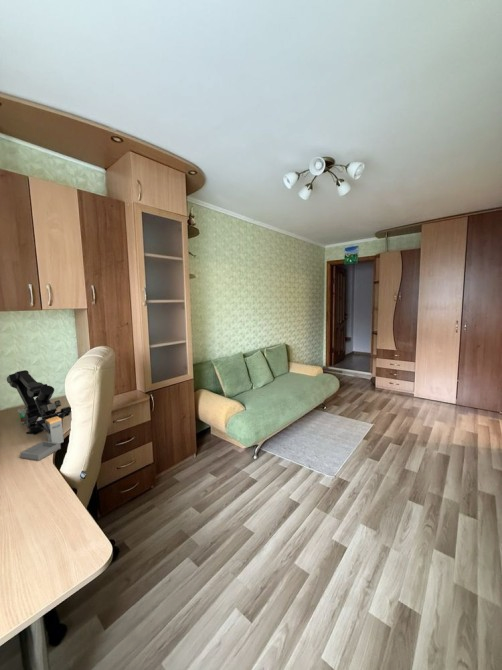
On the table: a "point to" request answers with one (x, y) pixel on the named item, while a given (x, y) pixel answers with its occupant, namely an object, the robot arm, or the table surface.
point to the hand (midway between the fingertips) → (55, 430)
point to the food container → (22, 414)
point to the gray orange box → (55, 430)
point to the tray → (40, 450)
